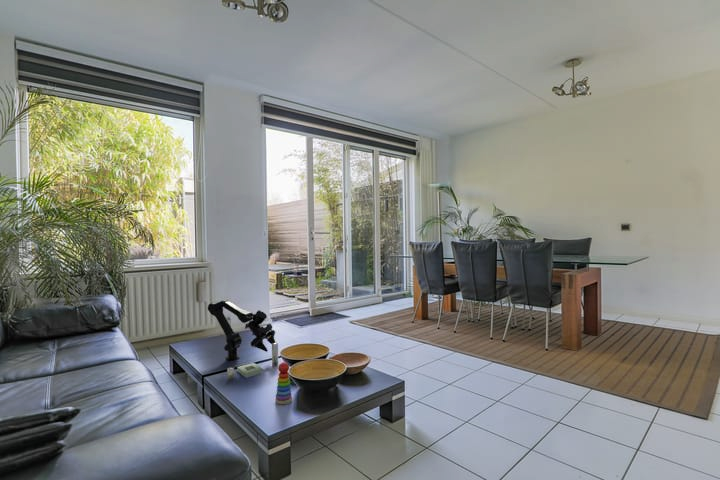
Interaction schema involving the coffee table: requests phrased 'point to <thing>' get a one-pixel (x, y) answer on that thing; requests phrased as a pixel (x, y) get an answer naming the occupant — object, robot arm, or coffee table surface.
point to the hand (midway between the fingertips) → (271, 348)
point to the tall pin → (274, 354)
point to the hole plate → (250, 370)
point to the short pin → (230, 373)
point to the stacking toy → (283, 385)
